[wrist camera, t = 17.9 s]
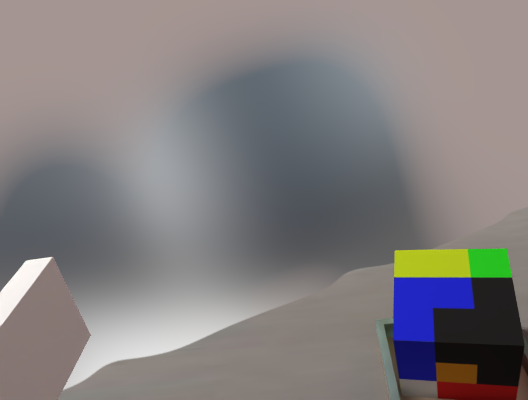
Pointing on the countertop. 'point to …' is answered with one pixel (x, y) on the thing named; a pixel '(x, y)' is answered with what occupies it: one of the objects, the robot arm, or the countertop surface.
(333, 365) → the countertop surface
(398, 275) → the puzzle toy
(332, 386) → the countertop surface
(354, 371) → the countertop surface
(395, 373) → the shallow tray
